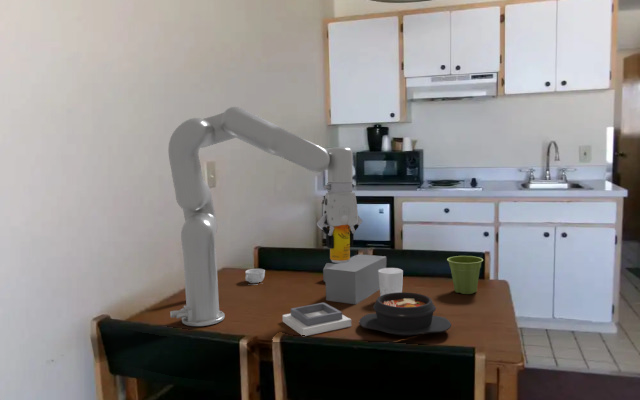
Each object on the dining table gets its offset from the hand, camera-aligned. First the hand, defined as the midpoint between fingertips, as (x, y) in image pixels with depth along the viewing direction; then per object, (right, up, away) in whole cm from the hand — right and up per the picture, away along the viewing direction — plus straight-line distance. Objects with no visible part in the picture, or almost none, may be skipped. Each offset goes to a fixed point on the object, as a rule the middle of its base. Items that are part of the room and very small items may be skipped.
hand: (339, 246), depth 159 cm
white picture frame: (-7, -21, -10) cm, 25 cm away
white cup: (+17, -19, +10) cm, 27 cm away
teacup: (-31, -18, +39) cm, 52 cm away
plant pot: (+43, -17, +18) cm, 50 cm away
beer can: (0, -5, 0) cm, 5 cm away
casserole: (+17, -22, -16) cm, 32 cm away
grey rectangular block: (+2, -18, +24) cm, 30 cm away
